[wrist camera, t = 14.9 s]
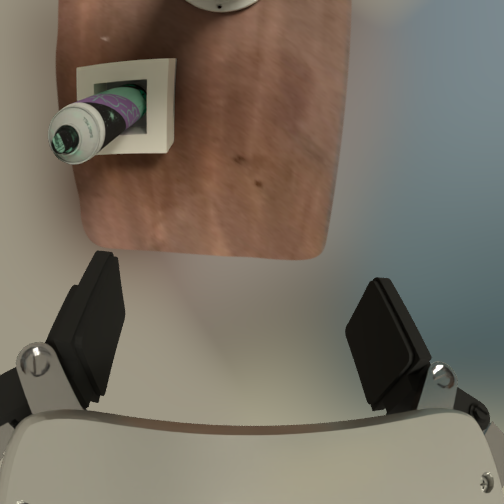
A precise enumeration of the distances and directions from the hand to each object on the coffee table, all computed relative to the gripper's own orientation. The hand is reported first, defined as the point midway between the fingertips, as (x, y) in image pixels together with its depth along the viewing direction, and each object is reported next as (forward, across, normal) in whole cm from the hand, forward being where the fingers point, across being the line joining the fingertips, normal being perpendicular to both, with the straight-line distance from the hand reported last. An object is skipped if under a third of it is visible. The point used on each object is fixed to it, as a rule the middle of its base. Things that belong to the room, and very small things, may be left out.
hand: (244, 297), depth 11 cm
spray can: (+33, +14, -1) cm, 36 cm away
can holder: (+34, +14, -1) cm, 37 cm away
